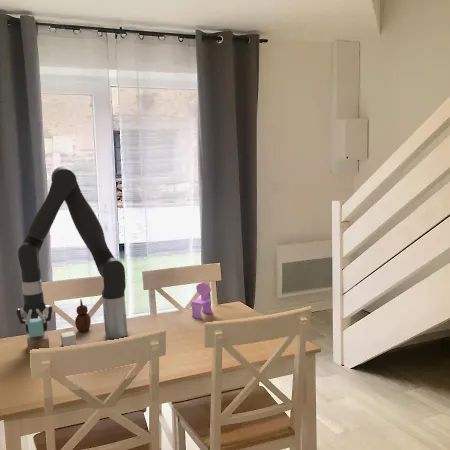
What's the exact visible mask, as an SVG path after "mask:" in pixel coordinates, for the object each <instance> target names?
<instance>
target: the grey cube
mask: <svg viewBox="0 0 450 450" xmlns="http://www.w3.org/2000/svg"><path fill="white" fill-rule="evenodd" d="M76 336H77V335H76V333H75V331H74V330H72V331H67V332H61V333H60V340H61V346H62V345H63V346H70V345H78V344H77V337H76ZM63 346H62V347H63Z"/></svg>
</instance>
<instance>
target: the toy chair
mask: <svg viewBox="0 0 450 450" xmlns="http://www.w3.org/2000/svg"><path fill="white" fill-rule="evenodd" d="M196 291H197V294H198V295H200V297H198V298H196V299H195V300H192V301H191V304H190V306H191V313H192V316H191V318H195V319H200V320H203V319H204V318H203V316H202V313H205V314H210V315H214V312H213V310H212V307H211V305H212V300H211V299H208V295H209V294H211V292H212V289H211V286H210V285H209V284H208V283H206V282H201V283H198V284H197V285H196Z"/></svg>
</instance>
